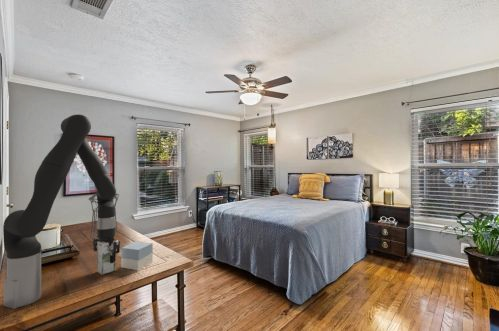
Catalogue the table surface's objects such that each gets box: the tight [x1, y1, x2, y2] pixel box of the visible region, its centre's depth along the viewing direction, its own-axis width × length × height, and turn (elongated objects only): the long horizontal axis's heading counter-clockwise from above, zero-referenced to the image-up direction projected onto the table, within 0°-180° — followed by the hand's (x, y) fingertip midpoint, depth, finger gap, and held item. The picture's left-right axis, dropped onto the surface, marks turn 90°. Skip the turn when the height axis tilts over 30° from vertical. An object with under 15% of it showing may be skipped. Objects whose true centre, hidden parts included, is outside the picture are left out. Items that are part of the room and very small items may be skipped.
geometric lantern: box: [88, 192, 120, 241], centre depth 154 cm, size 16×16×35 cm
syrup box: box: [96, 241, 116, 276], centre depth 112 cm, size 6×6×14 cm
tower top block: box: [121, 241, 154, 260], centre depth 120 cm, size 10×10×5 cm
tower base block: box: [121, 253, 154, 271], centre depth 120 cm, size 10×10×5 cm
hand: (106, 261), depth 113 cm, fingers closed on syrup box, 7 cm apart
